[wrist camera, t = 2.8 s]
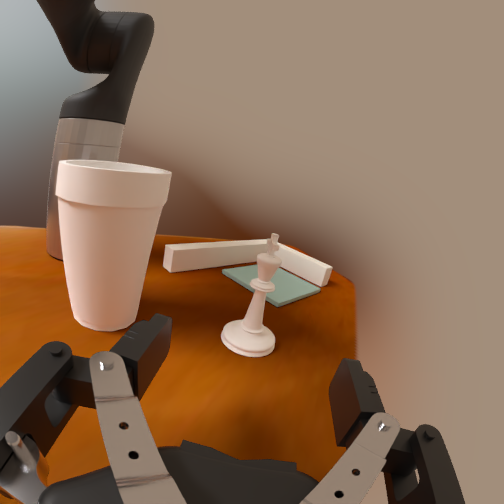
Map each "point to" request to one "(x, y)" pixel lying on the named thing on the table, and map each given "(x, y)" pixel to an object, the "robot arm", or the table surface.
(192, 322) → the table surface
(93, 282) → the foam cup
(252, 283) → the chess piece
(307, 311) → the table surface
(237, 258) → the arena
